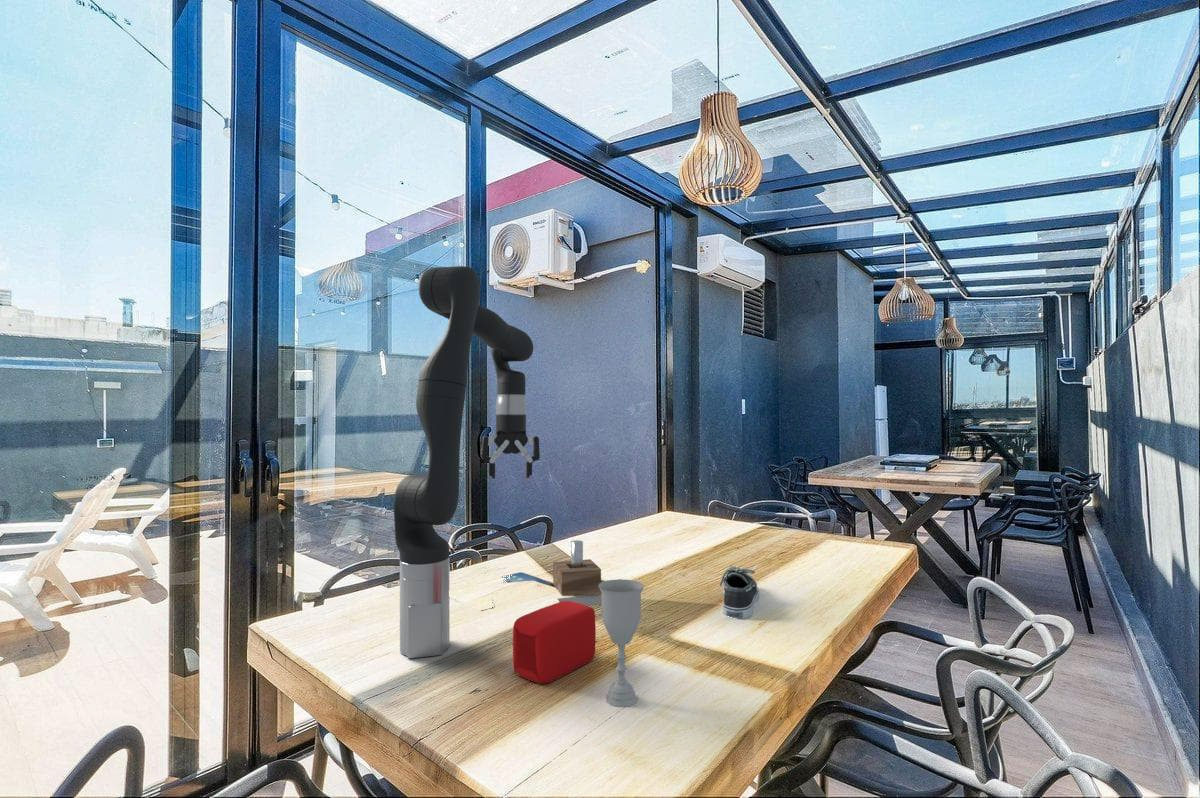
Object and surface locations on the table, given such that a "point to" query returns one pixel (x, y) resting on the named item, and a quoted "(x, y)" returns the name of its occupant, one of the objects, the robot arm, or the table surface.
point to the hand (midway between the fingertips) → (510, 478)
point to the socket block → (576, 578)
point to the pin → (577, 554)
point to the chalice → (621, 630)
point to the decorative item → (553, 641)
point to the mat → (584, 600)
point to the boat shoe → (739, 592)
